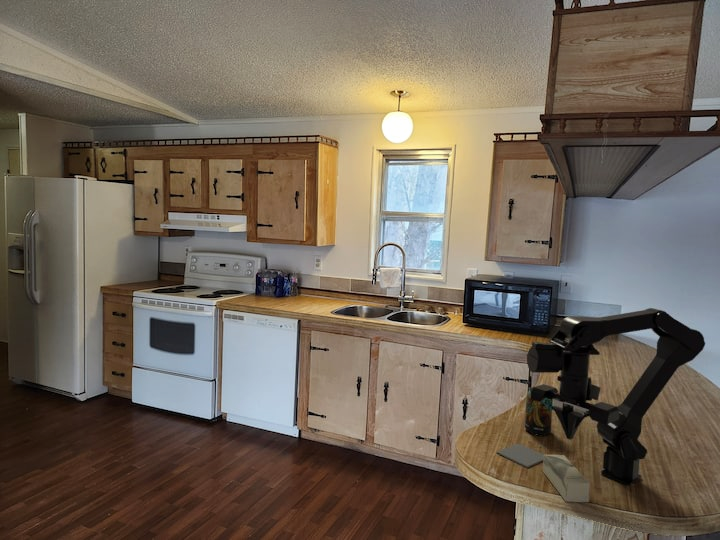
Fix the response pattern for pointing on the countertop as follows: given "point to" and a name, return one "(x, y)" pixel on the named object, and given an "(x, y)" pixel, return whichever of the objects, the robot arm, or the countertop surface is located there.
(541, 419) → the beverage can
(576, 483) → the box
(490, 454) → the countertop surface
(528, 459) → the mat
